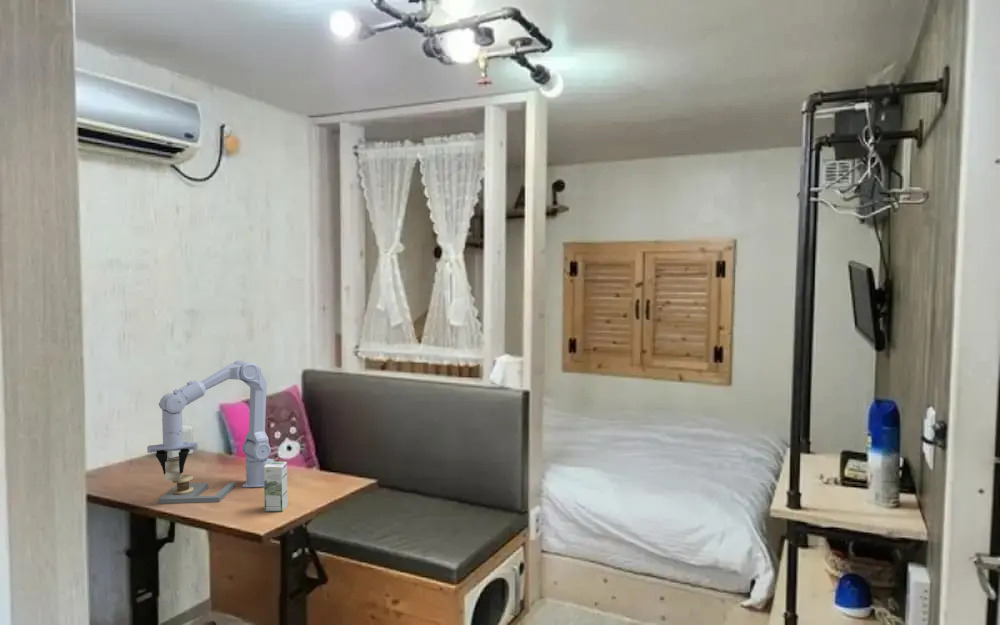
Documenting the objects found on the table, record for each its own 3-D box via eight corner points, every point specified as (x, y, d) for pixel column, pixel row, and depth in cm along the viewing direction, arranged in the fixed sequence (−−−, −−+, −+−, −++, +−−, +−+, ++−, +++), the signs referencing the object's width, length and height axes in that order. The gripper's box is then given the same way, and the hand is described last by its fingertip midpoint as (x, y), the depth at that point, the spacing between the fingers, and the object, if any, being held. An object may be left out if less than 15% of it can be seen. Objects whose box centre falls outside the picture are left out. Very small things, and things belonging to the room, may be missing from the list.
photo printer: (189, 452, 271) (188, 422, 271) (195, 453, 269) (194, 424, 268) (165, 457, 263) (164, 427, 262) (171, 459, 260) (170, 428, 260)
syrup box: (288, 505, 207) (287, 460, 206) (282, 512, 201) (281, 466, 200) (270, 505, 207) (269, 460, 206) (263, 512, 201) (263, 466, 200)
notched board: (235, 486, 226) (235, 482, 226) (219, 502, 210) (219, 497, 210) (178, 487, 224) (178, 483, 224) (158, 503, 209) (158, 499, 208)
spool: (196, 488, 219) (196, 474, 219) (189, 494, 213) (188, 480, 213) (177, 488, 219) (176, 475, 219) (169, 495, 212) (168, 481, 212)
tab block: (181, 476, 211) (181, 458, 211) (179, 479, 207) (178, 461, 207) (168, 477, 210) (168, 459, 210) (165, 480, 206) (165, 462, 206)
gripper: (199, 427, 214) (200, 467, 214) (150, 429, 210) (151, 471, 211) (195, 431, 207) (196, 473, 208) (145, 434, 203) (146, 477, 204)
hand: (173, 472), depth 209 cm, fingers closed on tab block, 4 cm apart
